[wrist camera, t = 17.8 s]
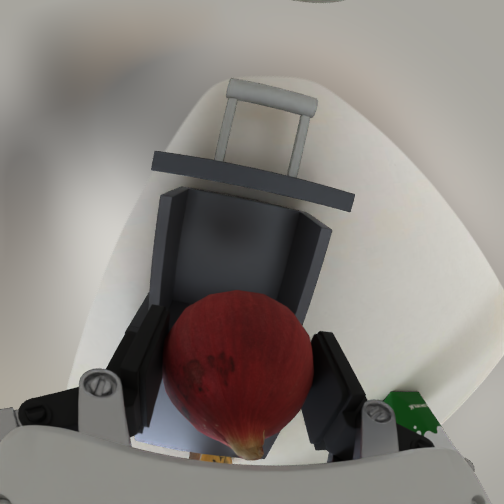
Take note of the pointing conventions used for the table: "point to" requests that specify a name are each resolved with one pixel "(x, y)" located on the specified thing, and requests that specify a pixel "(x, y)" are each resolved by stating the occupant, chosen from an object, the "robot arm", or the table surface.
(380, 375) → the table surface
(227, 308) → the onion
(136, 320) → the cabinet
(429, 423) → the milk carton
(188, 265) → the drawer
